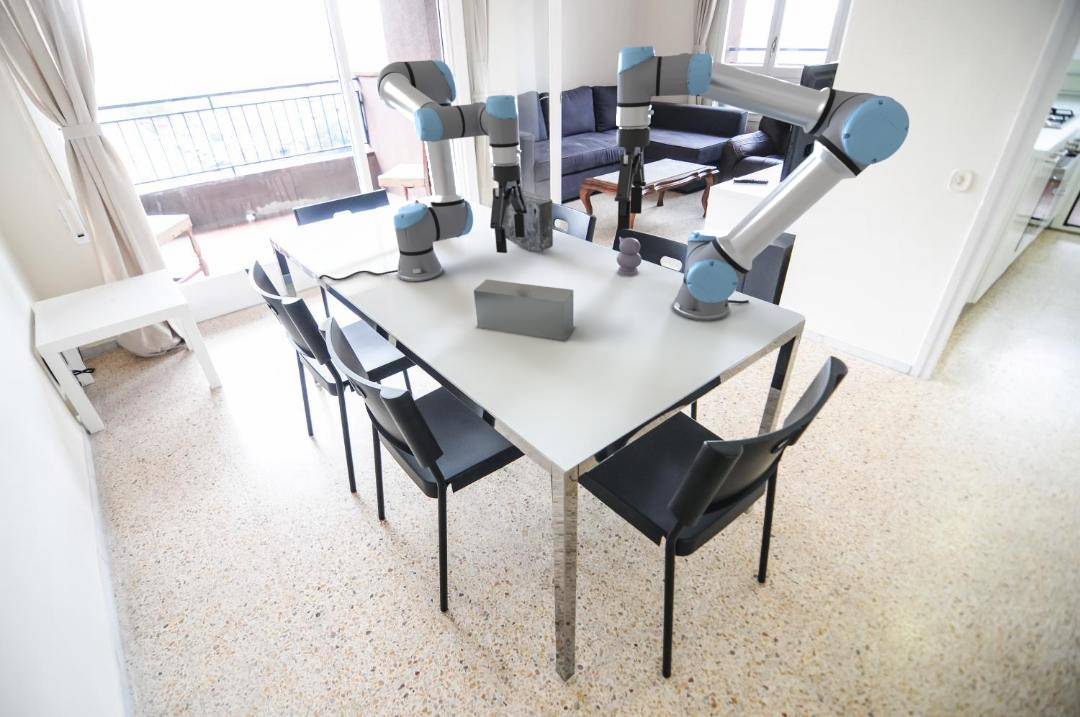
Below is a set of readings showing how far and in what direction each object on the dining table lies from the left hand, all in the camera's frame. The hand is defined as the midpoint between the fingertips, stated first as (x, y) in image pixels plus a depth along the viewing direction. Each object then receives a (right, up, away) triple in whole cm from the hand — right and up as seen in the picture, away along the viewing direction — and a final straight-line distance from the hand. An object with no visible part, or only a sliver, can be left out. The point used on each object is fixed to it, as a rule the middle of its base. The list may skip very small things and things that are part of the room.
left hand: (511, 244), depth 138 cm
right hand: (+30, +2, -15) cm, 34 cm away
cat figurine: (+38, -2, +32) cm, 50 cm away
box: (+4, -23, +1) cm, 23 cm away
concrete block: (+3, +12, +58) cm, 59 cm away
